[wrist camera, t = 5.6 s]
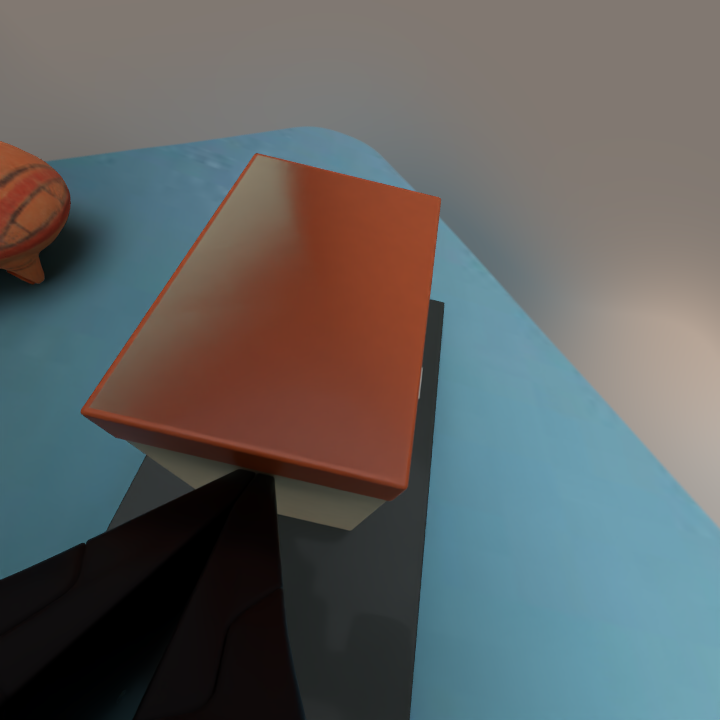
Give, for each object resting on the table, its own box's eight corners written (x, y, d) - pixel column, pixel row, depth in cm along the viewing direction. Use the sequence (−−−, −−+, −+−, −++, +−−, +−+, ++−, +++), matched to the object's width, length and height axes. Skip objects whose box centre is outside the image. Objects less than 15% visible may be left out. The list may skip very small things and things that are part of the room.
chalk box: (352, 533, 14) (408, 490, 6) (203, 498, 14) (76, 412, 6) (386, 348, 19) (441, 196, 11) (276, 322, 19) (254, 151, 11)
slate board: (400, 785, 11) (404, 795, 10) (24, 701, 11) (9, 708, 10) (441, 307, 21) (445, 301, 21) (252, 262, 21) (250, 254, 21)
